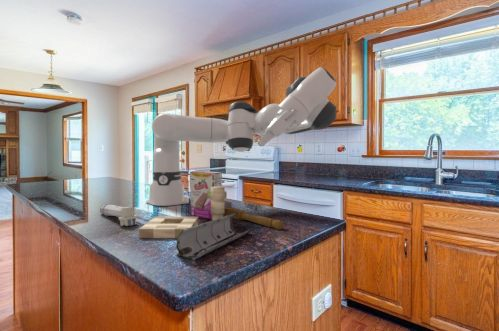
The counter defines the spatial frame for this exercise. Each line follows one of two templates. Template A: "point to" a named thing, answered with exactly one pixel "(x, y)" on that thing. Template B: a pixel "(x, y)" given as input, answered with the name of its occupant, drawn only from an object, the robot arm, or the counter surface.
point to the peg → (217, 202)
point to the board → (166, 227)
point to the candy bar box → (203, 192)
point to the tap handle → (253, 218)
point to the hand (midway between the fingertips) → (259, 145)
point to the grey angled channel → (206, 237)
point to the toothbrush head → (120, 213)
